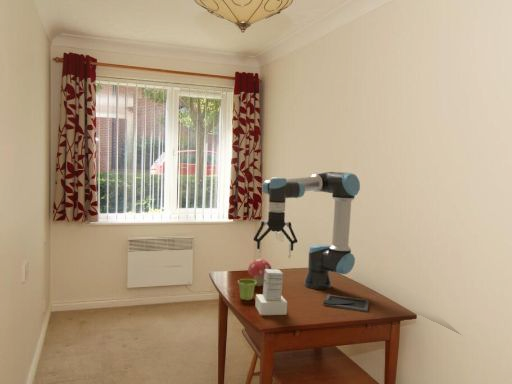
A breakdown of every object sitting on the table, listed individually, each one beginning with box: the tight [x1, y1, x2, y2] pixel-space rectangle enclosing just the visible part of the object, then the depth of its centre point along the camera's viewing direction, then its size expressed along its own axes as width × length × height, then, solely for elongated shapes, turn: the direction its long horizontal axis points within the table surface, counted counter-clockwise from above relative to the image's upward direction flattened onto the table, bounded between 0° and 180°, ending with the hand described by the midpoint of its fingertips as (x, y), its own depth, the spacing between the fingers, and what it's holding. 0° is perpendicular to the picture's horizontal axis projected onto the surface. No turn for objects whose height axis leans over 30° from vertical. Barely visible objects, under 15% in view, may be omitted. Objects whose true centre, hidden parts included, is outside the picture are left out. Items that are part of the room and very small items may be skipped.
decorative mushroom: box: [247, 258, 273, 287], centre depth 232 cm, size 13×13×15 cm
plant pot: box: [237, 278, 257, 301], centre depth 211 cm, size 9×9×9 cm
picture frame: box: [322, 293, 370, 313], centre depth 211 cm, size 16×2×21 cm
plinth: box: [254, 293, 288, 316], centre depth 196 cm, size 12×12×6 cm
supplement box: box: [262, 268, 284, 300], centre depth 195 cm, size 7×7×13 cm
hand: (274, 256), depth 196 cm, fingers open, 13 cm apart
